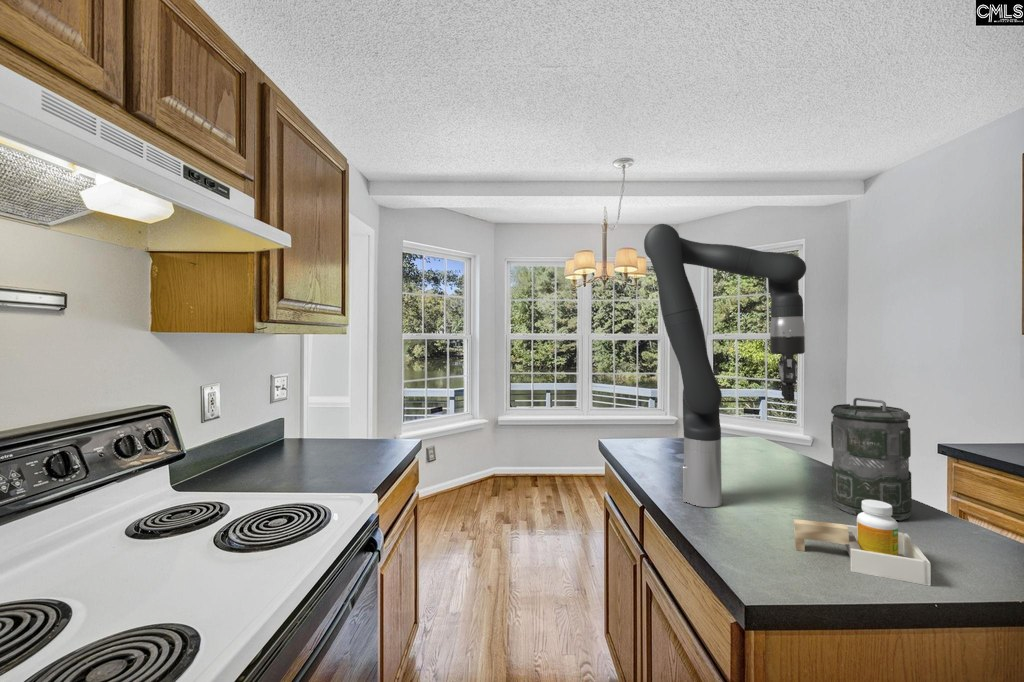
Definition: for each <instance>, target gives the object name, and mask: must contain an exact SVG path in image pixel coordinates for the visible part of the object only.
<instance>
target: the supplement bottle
mask: <svg viewBox="0 0 1024 682" xmlns="http://www.w3.org/2000/svg"><path fill="white" fill-rule="evenodd" d="M862 510H863V511H864V512H861V513H859V514H858V515H857V516H856V526H857V542H858V544H859V546H860V548H861V550H864V551H870V552H877V553H883V554H889V555H895V556H899V554H898V532H899V524H898V521H896V520H895V519H893V518H892V517H891V515H892V506H891V505H890V504H888V503H885V502H882V501H877V500H863V501H862Z"/></svg>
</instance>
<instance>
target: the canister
mask: <svg viewBox="0 0 1024 682" xmlns="http://www.w3.org/2000/svg"><path fill="white" fill-rule="evenodd" d="M857 401H861V402H870V403H871V402H872V403H879V404H882V405H880V406H874V405H857ZM852 403H853V404H852V405H851V404H850V403H847V404H846V403H844V404H835V405H834V406H832V408H831V409H830V413H831V414H832V421H831V422H830V437H831V438H830V439H831V441H830V442H831V448H832V452H833V453H832V459H833V460H832V463H831V469H830V471H831V500H832V502H833V504H834V505H835V506H836V507H837V508H838V509H840V510H841V511H844V512H845V513H848V514H851V515H853V514H854V516H856V515H858V514H859V513H861V512H864V511H863V510H862V501H863V500H877V501H882V502H885V503H888V504H890V505H891V506H892V515H891V517H892V518H893V519H895V520H899V521H903V520H907V519H909V518H910V517H911V515H912V506H913V505H912V502H913V501H912V493H913V491H912V472H911V470H910V469H909V468H910V467H909V466H910V463H909V461H910V457H911V453H912V445H911V443H912V442H911V441H912V439H911V433H912V432H911V428H910V427H909V421H908V420H910V419H911V414H910V413H909V412H908V411H906V410H904V409H902V408H901V407H893V406H888V405H887V403H886V402H885V401H884V400H881V399H873V398H865V397H864V398H863V397H855V398H854V399H853V402H852Z"/></svg>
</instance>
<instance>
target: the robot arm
mask: <svg viewBox="0 0 1024 682" xmlns="http://www.w3.org/2000/svg"><path fill="white" fill-rule="evenodd" d="M643 246H644V247H643V248H644V253H645V254H646V256H647V257H648V259H650V263H651V265H652V268H653V271H654V274H655V276H656V281H657V288H658V298H659V305H660V306H659V307H660V311H661V312H660V313H661V316H662V320H663V323H664V328H665V330H666V331H665V332H666V334H667V337H668V341H669V342H670V343H669V344H670V345H671V347H672V350H673V352H674V355H675V356H676V359H677V362H678V365H679V367H680V369H679V370H680V376H681V379H682V384H683V389H682V422H683V423H682V425H683V426H682V427H683V466H682V502H683V503H686V502H687V504H689V503H690V505H693V506H695V505H696V507H702V508H717V507H720V506H721V505H722V504H723V503H722V502H723V501H722V498H723V495H722V493H723V492H722V491H723V490H722V489H723V488H722V486H723V485H722V428H721V421H720V405H721V402H722V399H723V397H722V396H723V395H722V391H721V388H720V385H719V383H718V382H717V378H716V376H715V374H714V370H713V368H712V365H711V362H710V359H709V355H708V349H707V341H706V337H705V331H704V326H703V321H702V317H701V314H700V311H699V307H698V303H697V301H696V297H695V294H694V292H693V289H692V286H691V284H690V281H689V278H688V276H687V273H686V269H685V265H692V266H697V267H698V266H699V267H703V268H708V269H712V270H716V271H720V272H725V273H728V274H734V275H739V276H743V277H749V278H755V277H760V278H764V279H767V281H768V289H769V294H770V299H771V301H770V316H771V318H770V323H769V324H770V326H769V327H770V328H769V330H770V331H769V332H770V333H769V335H770V336H769V340H770V341H769V342H770V343H769V345H770V346H769V347H770V348H769V349H770V351H769V352H770V353H771V354H772V355H773V354H774V355H781V356H780V357H779V360H778V361H777V365H778V375H779V378H780V379H779V380H780V382H781V396H782V397H783V400H784V401H786V402H794V401H795V386H796V384H797V379H796V378H797V376H798V375H797V369H798V361H797V360H796V358H794V355H802V354H805V352H806V349H805V348H806V342H805V341H806V340H805V339H806V338H805V329H806V328H805V321H804V320H805V319H804V301H803V297H802V295H801V294H800V291H799V281H800V280H801V279H802V278H803V277H804V276H805V274H806V272H807V265H806V262H805V261H804V260H803V259H802V258H801V256H798V255H794V254H791V253H787V252H786V253H785V252H777V251H776V252H773V251H761V250H758V249H755V248H754V249H753V248H748V247H743V246H739V245H732V244H722V243H721V244H719V243H705V242H699V241H698V242H697V241H693V240H689V239H685V238H683V237H680V234H679V233H678V230H676V229H675V228H674V227H673V226H672V225H669V224H667V223H659V224H655V225H654V226H652V227H651V228H650V229H649V230H648V231H647V233H646V235H645V237H644V241H643Z"/></svg>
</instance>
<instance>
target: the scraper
mask: <svg viewBox="0 0 1024 682" xmlns="http://www.w3.org/2000/svg"><path fill="white" fill-rule="evenodd" d="M846 525H847V524H843V523H836V522H835V523H832V522H824V521H814V520H806V519H796V518H793V530H794V531H793V532H794V533H793V534H794V546H795V549H796V551H800V552H806V548H805V547H806V546H805V540H811V541H818V542H825V543H826V542H827V543H835V544H840V543H841V544H840V545H842V544H845V545H844V548H845V549H846V552H847V554H848V556H849V558H850V559H851V548H852V549H858V550H861V548H860V546H859V544H858V542H857V540H856V538H855V537H854V535H853V533H852V532H848V528H847V526H846Z"/></svg>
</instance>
